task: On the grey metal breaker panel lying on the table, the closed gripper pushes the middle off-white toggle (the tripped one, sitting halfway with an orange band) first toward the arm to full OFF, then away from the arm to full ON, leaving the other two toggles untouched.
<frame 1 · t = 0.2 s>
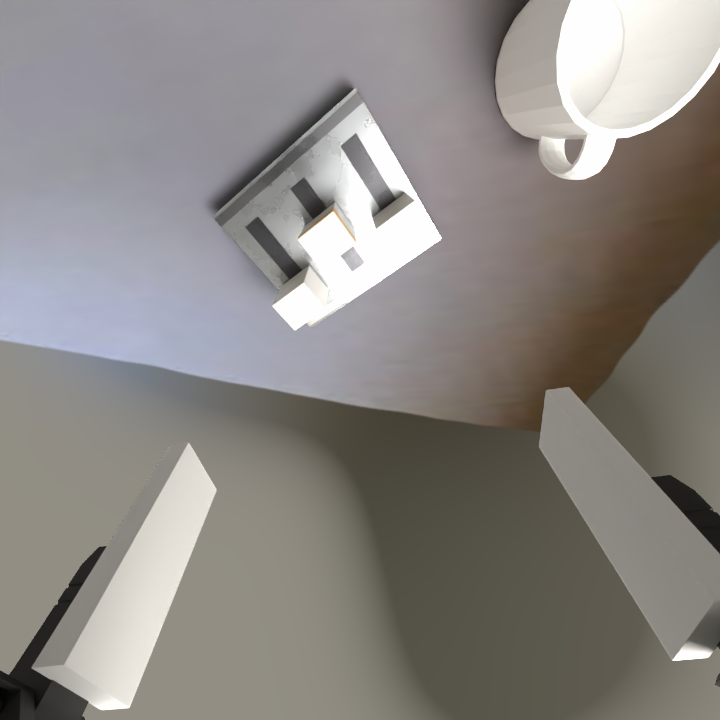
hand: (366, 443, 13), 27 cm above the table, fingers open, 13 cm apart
mug: (549, 86, 29), on the table
panel: (330, 223, 34), on the table
breaker low: (302, 296, 33), point 5 cm above the table, slide at 3.0 cm
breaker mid: (328, 234, 30), point 5 cm above the table, slide at 0.0 cm
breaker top: (401, 225, 30), point 5 cm above the table, slide at 3.0 cm
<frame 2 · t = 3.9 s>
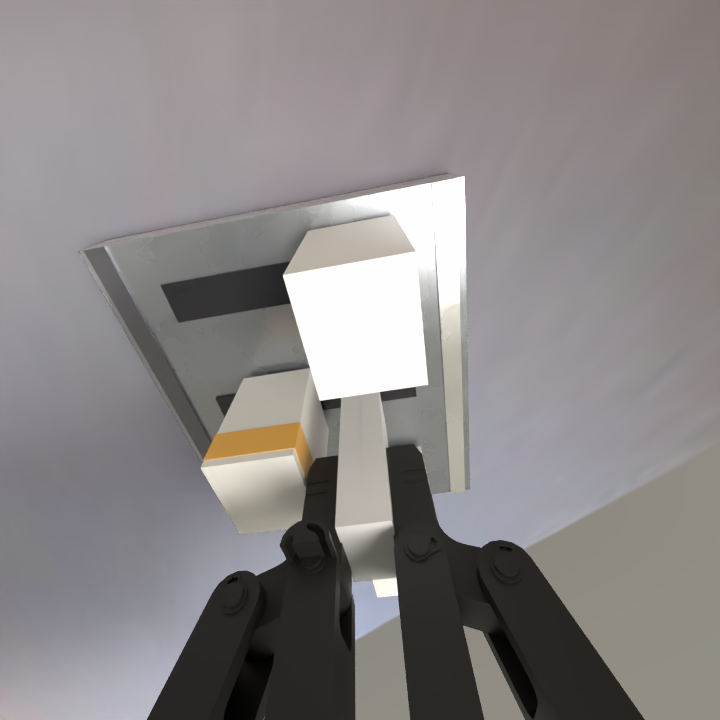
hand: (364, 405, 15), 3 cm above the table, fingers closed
panel: (320, 372, 18), on the table
breaker low: (400, 516, 16), point 5 cm above the table, slide at 3.0 cm
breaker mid: (278, 444, 14), point 5 cm above the table, slide at -1.3 cm, touching gripper
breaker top: (360, 298, 11), point 5 cm above the table, slide at 3.0 cm
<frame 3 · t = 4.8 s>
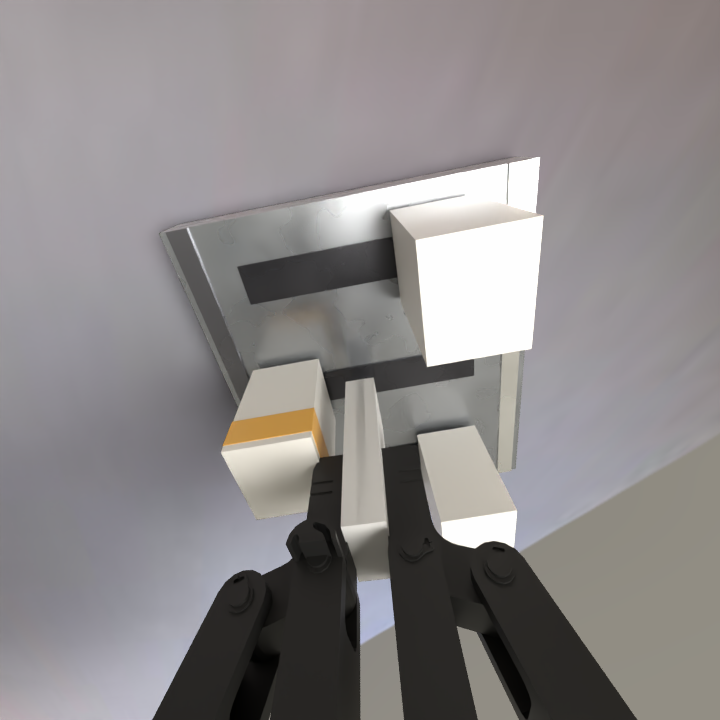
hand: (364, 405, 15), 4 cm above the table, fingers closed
panel: (373, 356, 18), on the table
breaker low: (461, 493, 17), point 5 cm above the table, slide at 3.0 cm
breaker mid: (290, 432, 14), point 5 cm above the table, slide at -3.9 cm, touching gripper
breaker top: (452, 271, 11), point 5 cm above the table, slide at 3.0 cm
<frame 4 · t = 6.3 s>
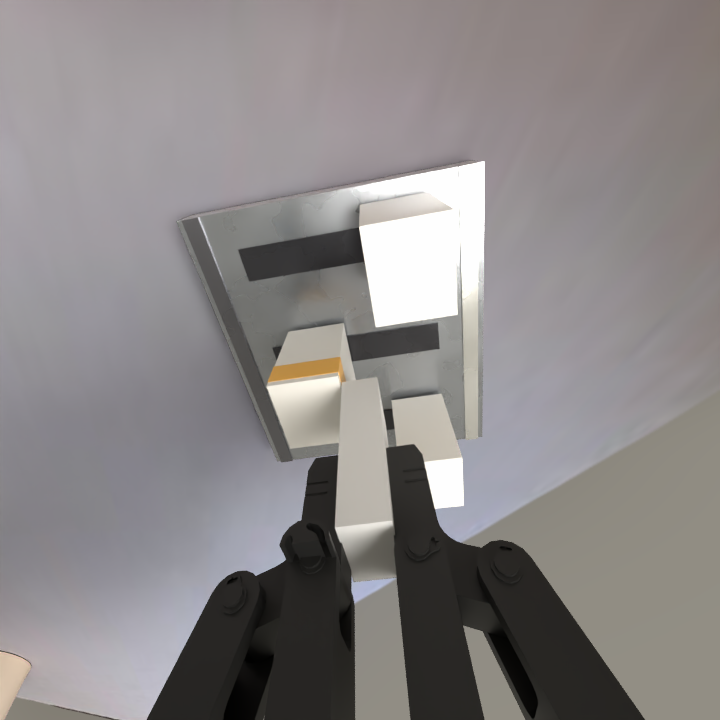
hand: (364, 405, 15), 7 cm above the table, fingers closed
panel: (356, 331, 21), on the table
water bottle: (5, 658, 48), on the table
breaker low: (425, 449, 20), point 5 cm above the table, slide at 3.0 cm
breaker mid: (318, 382, 17), point 5 cm above the table, slide at -1.8 cm
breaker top: (404, 254, 14), point 5 cm above the table, slide at 3.0 cm
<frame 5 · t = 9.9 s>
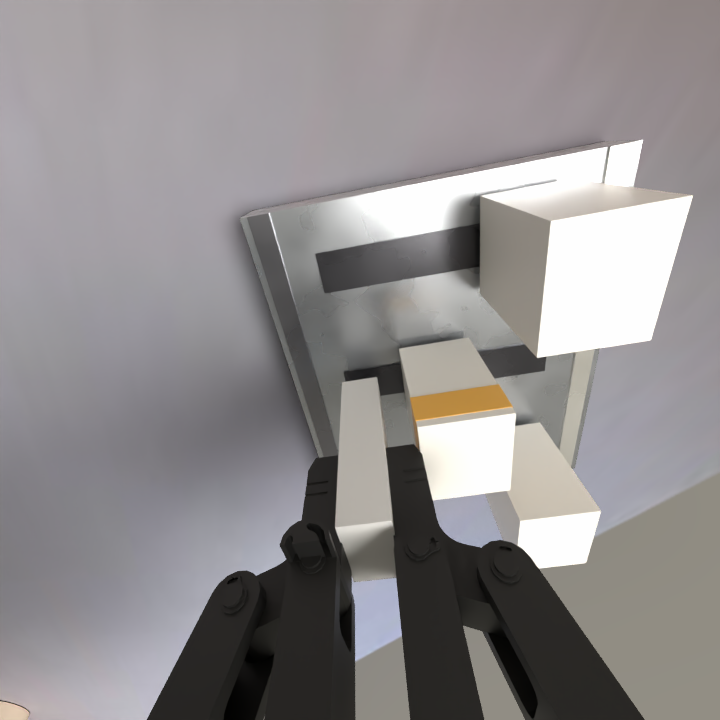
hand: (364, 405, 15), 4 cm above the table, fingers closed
panel: (435, 349, 18), on the table
water bottle: (0, 706, 43), on the table
breaker low: (528, 491, 16), point 5 cm above the table, slide at 3.0 cm
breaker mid: (449, 412, 14), point 5 cm above the table, slide at -0.5 cm, touching gripper
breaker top: (554, 259, 11), point 5 cm above the table, slide at 3.0 cm
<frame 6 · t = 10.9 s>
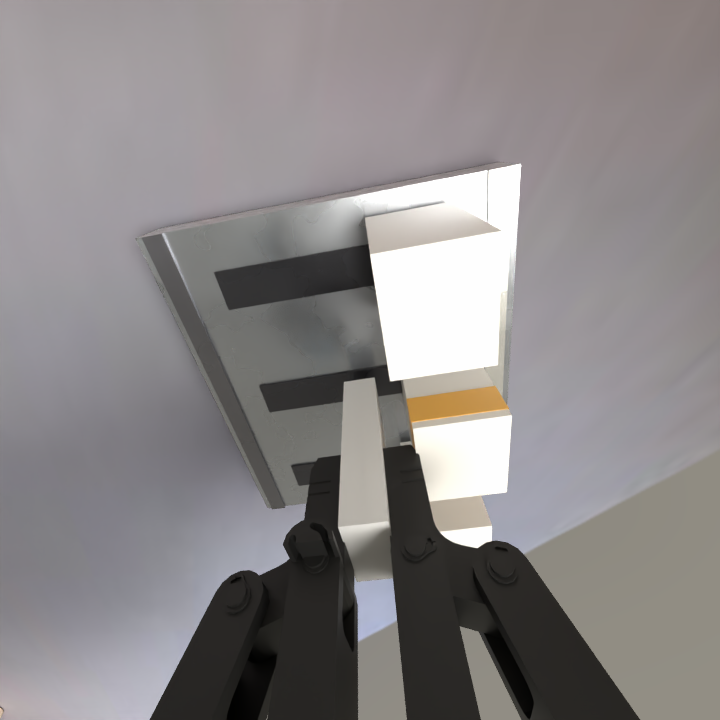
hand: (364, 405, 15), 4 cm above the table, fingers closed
panel: (358, 362, 18), on the table
breaker low: (441, 503, 17), point 5 cm above the table, slide at 3.0 cm
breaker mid: (446, 413, 14), point 5 cm above the table, slide at 3.5 cm, touching gripper
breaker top: (423, 282, 11), point 5 cm above the table, slide at 3.0 cm
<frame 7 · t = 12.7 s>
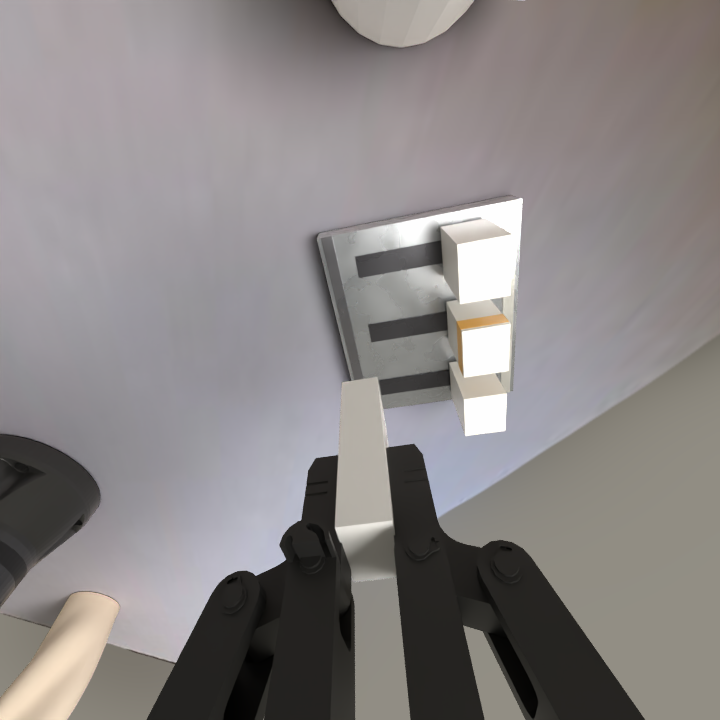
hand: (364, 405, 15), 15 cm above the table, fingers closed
panel: (422, 313, 30), on the table
water bottle: (99, 601, 57), on the table
breaker low: (475, 394, 28), point 5 cm above the table, slide at 3.0 cm
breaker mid: (475, 334, 25), point 5 cm above the table, slide at 3.1 cm
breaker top: (473, 259, 22), point 5 cm above the table, slide at 3.0 cm
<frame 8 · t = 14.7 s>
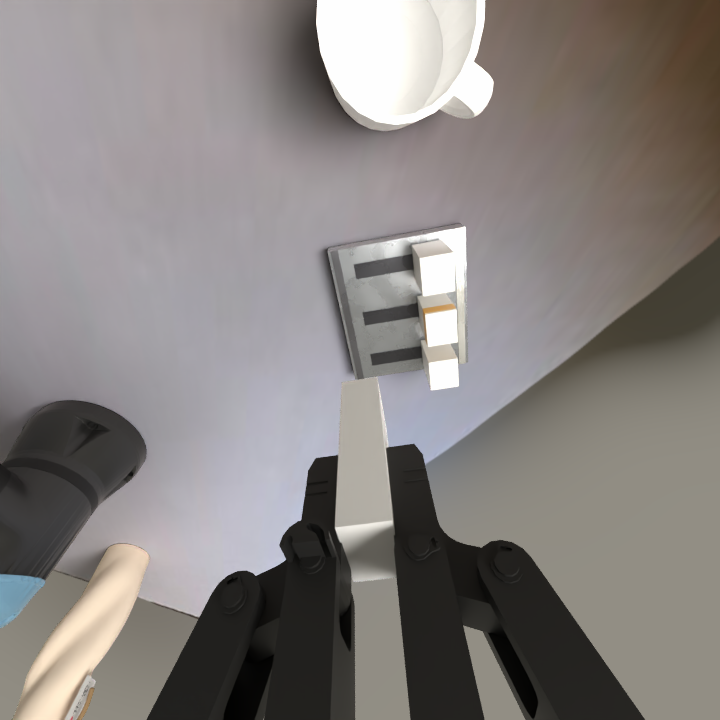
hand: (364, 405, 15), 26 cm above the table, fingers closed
mug: (398, 71, 30), on the table
panel: (401, 305, 41), on the table
water bottle: (132, 553, 66), on the table
breaker low: (439, 362, 39), point 5 cm above the table, slide at 3.0 cm
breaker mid: (436, 318, 37), point 5 cm above the table, slide at 3.1 cm
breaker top: (432, 267, 34), point 5 cm above the table, slide at 3.0 cm
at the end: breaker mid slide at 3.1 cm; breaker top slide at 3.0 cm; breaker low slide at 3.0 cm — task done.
